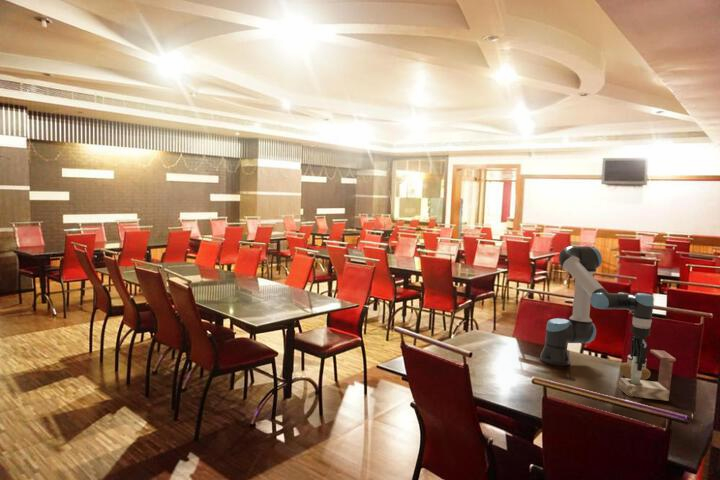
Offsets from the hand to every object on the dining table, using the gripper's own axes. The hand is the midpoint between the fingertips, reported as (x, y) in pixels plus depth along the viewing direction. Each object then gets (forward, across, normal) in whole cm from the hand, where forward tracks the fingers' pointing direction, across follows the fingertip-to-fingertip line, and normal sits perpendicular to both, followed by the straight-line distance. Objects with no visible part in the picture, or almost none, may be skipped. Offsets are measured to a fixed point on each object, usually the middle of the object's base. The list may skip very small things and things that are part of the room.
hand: (635, 375), depth 225 cm
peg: (+6, 0, 0) cm, 6 cm away
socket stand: (+9, 0, -4) cm, 10 cm away
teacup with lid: (+9, +30, -12) cm, 34 cm away
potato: (+9, +19, -7) cm, 22 cm away
